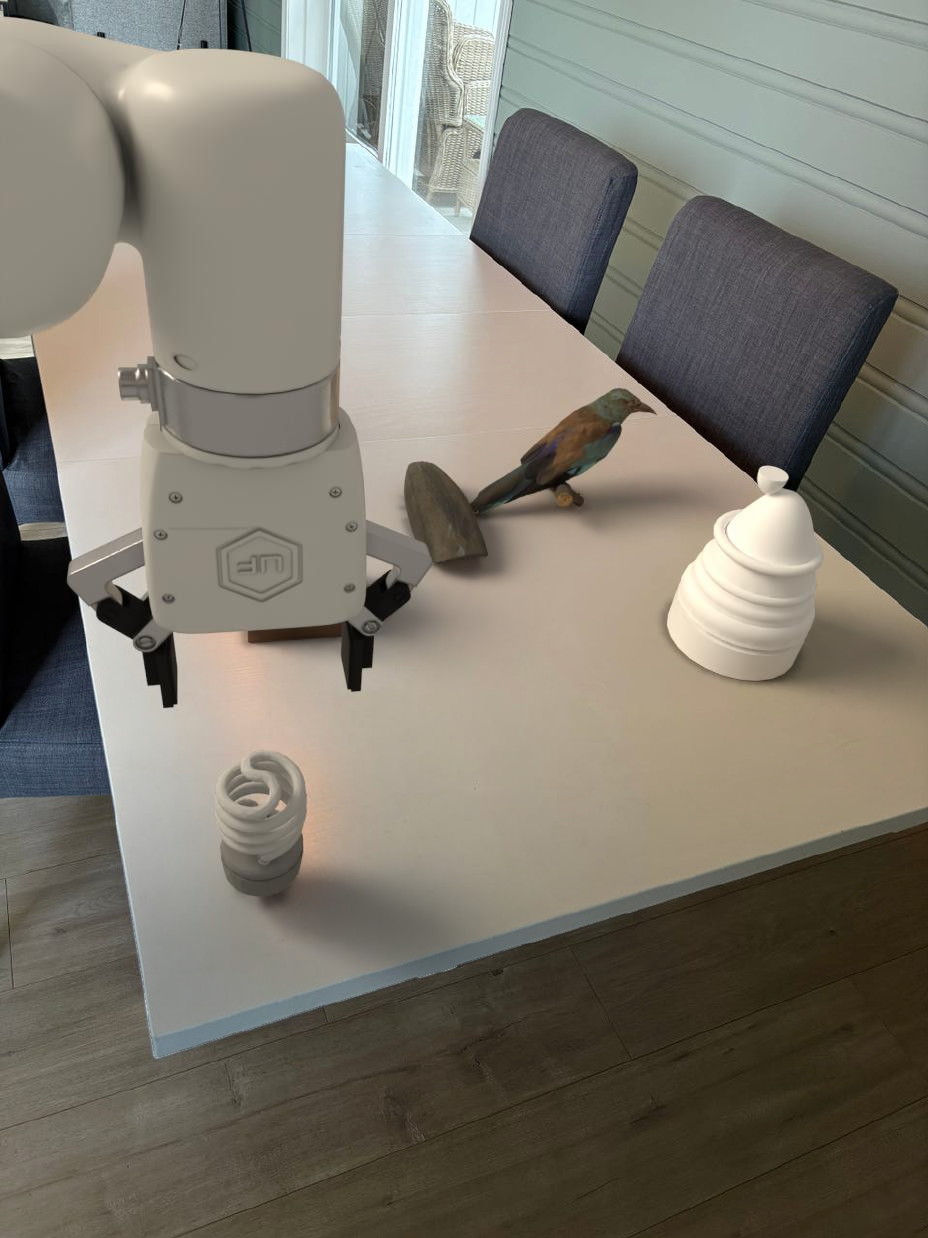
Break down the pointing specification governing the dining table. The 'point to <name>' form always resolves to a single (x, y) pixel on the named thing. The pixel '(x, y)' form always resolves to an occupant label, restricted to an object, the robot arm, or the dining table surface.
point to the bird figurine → (565, 453)
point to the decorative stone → (441, 514)
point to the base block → (295, 633)
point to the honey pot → (751, 587)
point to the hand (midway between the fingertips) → (262, 681)
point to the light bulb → (261, 823)
